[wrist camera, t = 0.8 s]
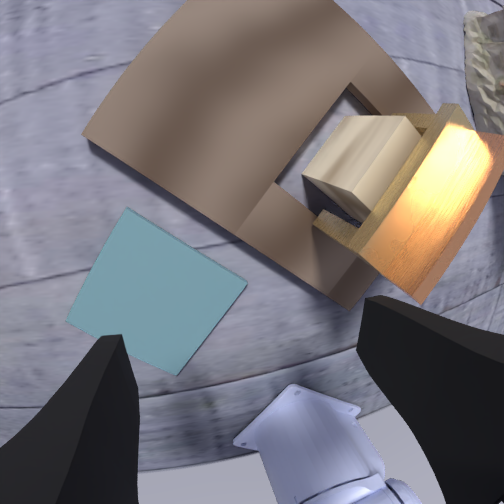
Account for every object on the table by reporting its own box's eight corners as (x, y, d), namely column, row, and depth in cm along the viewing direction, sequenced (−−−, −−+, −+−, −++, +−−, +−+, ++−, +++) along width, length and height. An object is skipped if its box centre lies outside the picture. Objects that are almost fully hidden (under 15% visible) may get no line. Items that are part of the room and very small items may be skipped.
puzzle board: (450, 149, 20) (459, 151, 19) (342, 304, 22) (349, 311, 21) (250, -50, 12) (254, -58, 11) (86, 134, 14) (81, 134, 13)
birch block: (389, 163, 19) (450, 178, 14) (351, 217, 19) (406, 247, 14) (344, 116, 17) (405, 115, 12) (301, 173, 18) (351, 192, 13)
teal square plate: (246, 280, 19) (247, 283, 19) (176, 371, 20) (176, 375, 20) (127, 206, 16) (126, 208, 16) (67, 317, 17) (65, 321, 17)
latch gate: (409, 133, 17) (513, 149, 10) (333, 240, 18) (421, 304, 11) (384, 104, 16) (492, 105, 9) (302, 216, 17) (388, 275, 10)
